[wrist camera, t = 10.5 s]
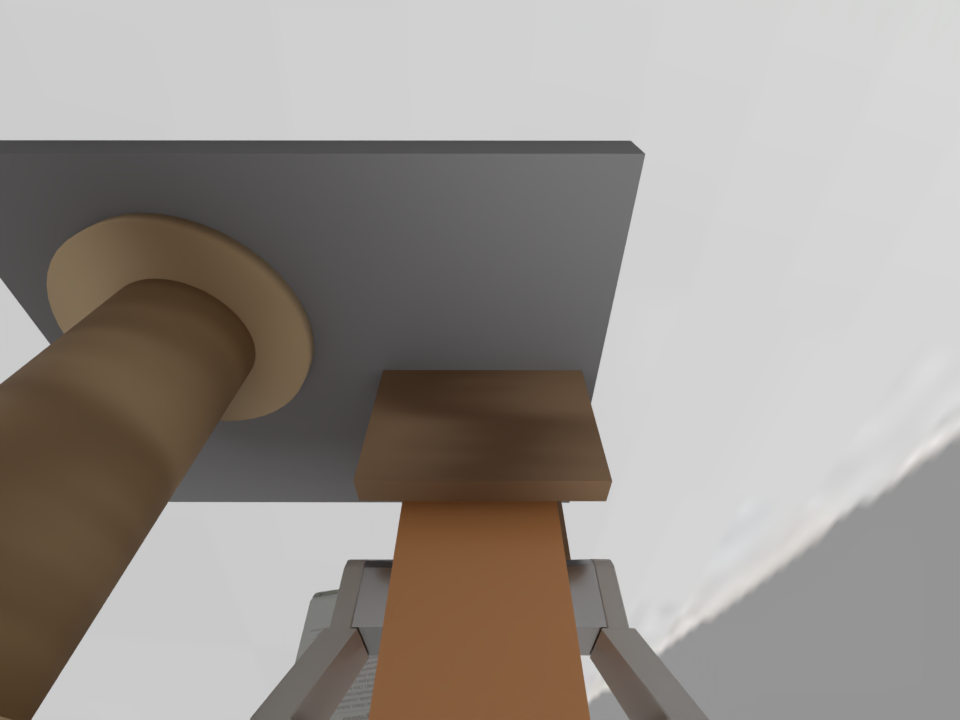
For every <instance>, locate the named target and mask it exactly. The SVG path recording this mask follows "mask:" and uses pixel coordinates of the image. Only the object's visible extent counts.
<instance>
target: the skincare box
mask: <svg viewBox="0 0 960 720" xmlns="http://www.w3.org/2000/svg"><path fill="white" fill-rule="evenodd" d="M338 591H339V589H336V590H330V591H323V592H317V593H315V594H314V595H313V597H312V599H311V601H310V604H309V608H308V612H307V616H306V620H305V624H304V628H303V632H302V636H301V640H300V644H299V649H298V653H297V657H296V661H295V663H296V662H297V660H298V659H299V658H300V657H301V656H302V654H303V653H304V652H305V651H306V649H307V648H308V647H309V646H310V645H311V643H312V642H313V641H314V640H315V639H316V637H317V636H318V635H319V634H320V632H321V631H322V630H323V629H324V628H330V624H331V620H332V616H333V611H334V607H335V603H336V599H337V595H338ZM377 661H378V655H372V656H369V659H368V661H367V662H366V664H365V665H364V667H363V668H362V670H361V672H360V673H359V675H358V676H357V678H356V679H355V681H354V682H353V684H352V686H351V687H350V689H349V690H348V692H347V693H346V695H345V696H344V698H343V699H342V701H341V703H340V704H339V706H338V707H337V709H336V710H335V712H334V713H333V715H332V717H331V718H330V720H368V719H369V712H370V706H371V699H372V693H373V687H374V680H375V674H376V667H377Z"/></svg>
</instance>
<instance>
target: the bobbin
mask: <svg viewBox="0 0 960 720" xmlns="http://www.w3.org/2000/svg"><path fill="white" fill-rule="evenodd" d="M47 293H48V300H49V303H50V306H51V309H52V312H53V314H54V317H55V319H56V321H57V323H58V325H59V327H60V328H61V330H62V331H63V333H64V334H63V335H62V336H61V337H59V338H58V339H57V340H56V341H54V342H53V343H52V344H50V345H49V346H48V347H47V348H45V349H44V350H43V351H42V352H40V353H39V354H38V355H37V356H35V357H34V358H33V359H31V360H30V361H29V362H28V363H26V364H25V365H24V366H23V367H21V368H20V369H19V370H18V371H16V372H15V373H14V374H12V375H11V376H10V377H9V378H7V379H6V380H5V381H4V382H2V383H1V384H0V720H32V718H33V716H34V715H35V713H36V712H37V710H38V708H39V707H40V705H41V704H42V702H43V700H44V699H45V697H46V696H47V694H48V692H49V691H50V689H51V688H52V686H53V685H54V683H55V681H56V680H57V678H58V677H59V675H60V673H61V672H62V670H63V669H64V667H65V665H66V664H67V662H68V661H69V659H70V658H71V656H72V654H73V653H74V651H75V650H76V648H77V646H78V645H79V643H80V642H81V640H82V638H83V637H84V635H85V634H86V632H87V631H88V629H89V627H90V626H91V624H92V623H93V621H94V619H95V618H96V616H97V615H98V613H99V611H100V610H101V608H102V607H103V605H104V603H105V602H106V600H107V599H108V597H109V596H110V594H111V592H112V591H113V589H114V588H115V586H116V584H117V583H118V581H119V580H120V578H121V576H122V575H123V573H124V572H125V570H126V569H127V567H128V565H129V564H130V562H131V561H132V559H133V557H134V556H135V554H136V553H137V551H138V549H139V548H140V546H141V545H142V543H143V542H144V540H145V538H146V537H147V535H148V534H149V532H150V530H151V529H152V527H153V526H154V524H155V522H156V521H157V519H158V518H159V516H160V514H161V513H162V511H163V510H164V508H165V507H166V505H167V503H168V502H169V500H170V499H171V497H172V495H173V494H174V492H175V491H176V489H177V487H178V486H179V484H180V483H181V481H182V480H183V478H184V476H185V475H186V473H187V472H188V470H189V468H190V467H191V465H192V464H193V462H194V460H195V459H196V457H197V456H198V454H199V453H200V451H201V449H202V448H203V446H204V445H205V443H206V441H207V440H208V438H209V437H210V435H211V433H212V432H213V430H214V429H215V427H216V425H217V424H218V422H219V421H239V420H247V419H253V418H257V417H261V416H265V415H267V414H270V413H272V412H274V411H276V410H278V409H280V408H281V407H283V406H284V405H286V404H287V403H288V402H289V401H291V400H292V399H293V397H294V396H295V395H296V394H297V393H298V391H299V390H300V388H301V386H302V384H303V382H304V380H305V378H306V376H307V374H308V372H309V369H310V366H311V363H312V360H313V353H314V338H313V333H312V328H311V325H310V322H309V319H308V316H307V314H306V312H305V310H304V308H303V306H302V304H301V302H300V300H299V299H298V297H297V296H296V294H295V293H294V292H293V290H292V289H291V287H290V286H289V285H288V284H287V283H286V281H285V280H284V279H283V278H282V277H281V276H280V274H279V273H278V272H276V271H275V270H274V269H273V268H272V267H271V266H270V265H269V264H268V263H267V262H266V261H265V260H263V259H262V258H261V257H259V256H258V255H257V254H256V253H254V252H253V251H252V250H250V249H249V248H247V247H246V246H244V245H242V244H241V243H239V242H238V241H236V240H235V239H233V238H231V237H229V236H227V235H225V234H223V233H221V232H219V231H217V230H215V229H212V228H210V227H207V226H205V225H202V224H200V223H197V222H194V221H190V220H187V219H183V218H180V217H174V216H169V215H163V214H153V213H132V214H123V215H118V216H113V217H109V218H107V219H104V220H102V221H99V222H97V223H95V224H93V225H91V226H89V227H88V228H86V229H84V230H82V231H81V232H79V233H77V234H76V235H74V236H73V237H71V238H70V239H68V240H67V241H66V242H65V243H64V244H63V245H62V246H61V247H60V248H59V249H58V250H57V251H56V253H55V255H54V256H53V258H52V260H51V262H50V266H49V269H48V272H47Z"/></svg>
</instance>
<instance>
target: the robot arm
mask: <svg viewBox="0 0 960 720" xmlns="http://www.w3.org/2000/svg"><path fill="white" fill-rule="evenodd" d="M392 564H393V559H350V560H348V561H347V563H346V565H345V567H344V570H343V574H342V579H341V583H340V587H339V591H338V595H337V599H336V603H335V607H334V611H333V616H332V620H331V624H330V628H324V629H323V630H322V631H321V632H320V634H319V635H318V636H317V637H316V639H315V640H314V641H313V642H312V643H311V645H310V646H309V647H308V648H307V649H306V651H305V652H304V653H303V654H302V656H301V657H300V658H299V659H298V660H297V662H296V663H295V664H294V665H293V667H292V668H291V669H290V670H289V671H288V673H287V674H286V675H285V676H284V678H283V679H282V680H281V681H280V682H279V684H278V685H277V686H276V687H275V689H274V690H273V691H272V692H271V693H270V695H269V696H268V697H267V698H266V700H265V701H264V702H263V703H262V704H261V706H260V707H259V708H258V709H257V711H256V712H255V713H254V714H253V715H252V717H251V718H250V720H330V718H331V717H332V715H333V713H334V712H335V710H336V709H337V707H338V706H339V704H340V703H341V701H342V699H343V698H344V696H345V695H346V693H347V692H348V690H349V689H350V687H351V686H352V684H353V682H354V681H355V679H356V678H357V676H358V675H359V673H360V672H361V670H362V668H363V667H364V665H365V664H366V662H367V661H368V659H369V656H372V655H378V654H379V648H380V642H381V635H382V629H383V622H384V616H385V609H386V603H387V596H388V590H389V584H390V577H391V571H392ZM566 564H567V571H568V577H569V584H570V590H571V597H572V603H573V610H574V616H575V623H576V629H577V636H578V642H579V649H580V655H586V656H590V659H591V660H592V662H593V663H594V665H595V667H596V668H597V670H598V671H599V673H600V674H601V676H602V677H603V679H604V681H605V682H606V684H607V685H608V687H609V688H610V690H611V692H612V693H613V695H614V696H615V698H616V699H617V701H618V703H619V704H620V706H621V707H622V709H623V710H624V712H625V713H626V715H627V717H628V718H629V720H709V719H708V717H707V716H706V715H705V714H704V712H703V711H702V710H701V709H700V708H699V706H698V705H697V704H696V703H695V701H694V700H693V699H692V698H691V697H690V695H689V694H688V693H687V692H686V690H685V689H684V688H683V687H682V685H681V684H680V683H679V682H678V681H677V679H676V678H675V677H674V676H673V674H672V673H671V672H670V671H669V669H668V668H667V667H666V666H665V665H664V663H663V662H662V661H661V660H660V658H659V657H658V656H657V655H656V654H655V652H654V651H653V650H652V649H651V647H650V646H649V645H648V644H647V642H646V641H645V640H644V639H643V638H642V636H641V635H640V634H639V633H638V631H637V630H636V629H635V628H629V625H628V620H627V616H626V612H625V608H624V604H623V600H622V596H621V592H620V588H619V583H618V579H617V575H616V571H615V567H614V565H613V563H612V561H611V560H610V559H577V560H566Z"/></svg>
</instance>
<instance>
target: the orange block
mask: <svg viewBox="0 0 960 720" xmlns="http://www.w3.org/2000/svg"><path fill="white" fill-rule="evenodd" d="M368 720H590V714H589V707H588V701H587V694H586V688H585V681H584V675H583V668H582V662H581V655H580V649H579V642H578V636H577V629H576V623H575V616H574V610H573V603H572V597H571V590H570V584H569V577H568V571H567V564H566V558H565V551H564V545H563V538H562V532H561V526H560V519H559V513H558V506H557V501H402V506H401V513H400V519H399V526H398V532H397V539H396V545H395V551H394V558H393V564H392V571H391V577H390V584H389V590H388V596H387V603H386V609H385V616H384V622H383V629H382V635H381V642H380V648H379V654H378V661H377V667H376V674H375V680H374V687H373V693H372V699H371V706H370V712H369V719H368Z"/></svg>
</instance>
